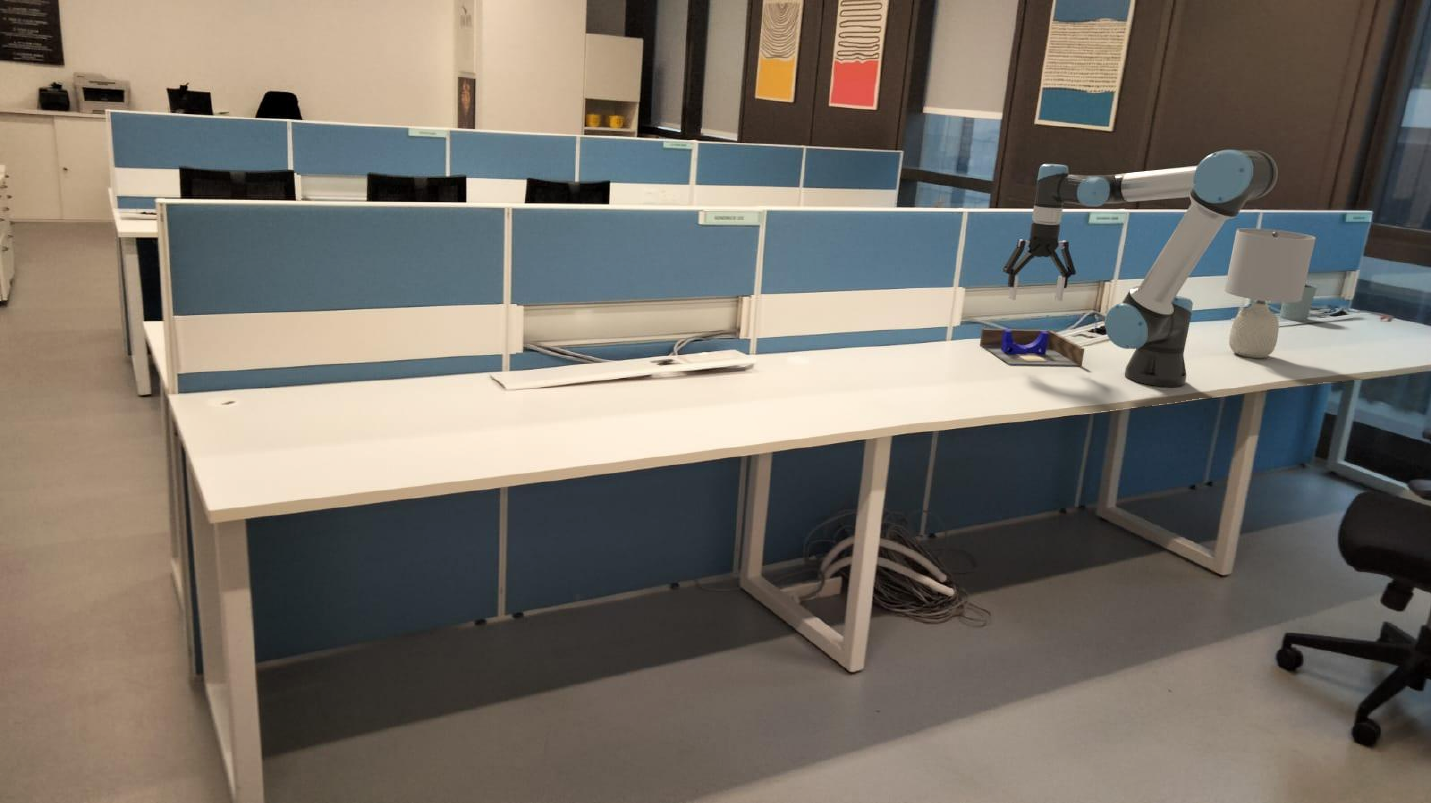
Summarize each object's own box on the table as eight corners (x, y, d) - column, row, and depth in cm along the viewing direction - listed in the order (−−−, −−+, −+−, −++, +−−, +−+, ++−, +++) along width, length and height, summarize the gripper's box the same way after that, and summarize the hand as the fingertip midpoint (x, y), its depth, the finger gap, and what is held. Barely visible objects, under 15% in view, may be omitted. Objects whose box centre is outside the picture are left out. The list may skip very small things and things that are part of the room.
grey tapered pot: (1279, 319, 364) (1287, 285, 361) (1274, 313, 373) (1282, 280, 370) (1312, 322, 361) (1320, 288, 358) (1306, 317, 370) (1313, 283, 367)
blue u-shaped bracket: (1005, 353, 294) (1007, 332, 293) (1000, 349, 299) (1003, 328, 297) (1047, 355, 295) (1050, 334, 293) (1042, 351, 299) (1045, 331, 297)
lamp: (1269, 367, 297) (1297, 239, 286) (1199, 351, 312) (1224, 228, 301) (1299, 358, 310) (1327, 235, 299) (1231, 343, 324) (1256, 224, 313)
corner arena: (1081, 366, 288) (1084, 348, 286) (1008, 365, 285) (1011, 347, 283) (1048, 346, 308) (1050, 330, 306) (979, 345, 305) (982, 328, 303)
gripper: (1082, 221, 288) (1071, 297, 295) (997, 219, 285) (987, 295, 291) (1095, 225, 281) (1083, 302, 288) (1008, 223, 278) (998, 301, 284)
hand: (1035, 299), depth 289 cm, fingers open, 13 cm apart
